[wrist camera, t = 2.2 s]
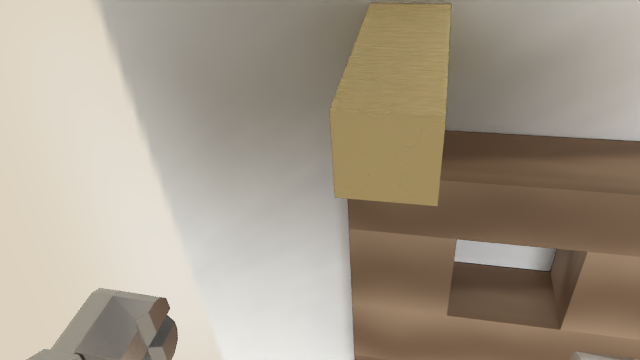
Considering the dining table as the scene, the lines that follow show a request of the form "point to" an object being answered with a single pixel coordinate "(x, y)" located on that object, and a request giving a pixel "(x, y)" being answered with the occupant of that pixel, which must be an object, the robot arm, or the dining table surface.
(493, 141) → the wooden slotted board
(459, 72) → the dining table surface
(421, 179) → the square bit
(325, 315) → the dining table surface
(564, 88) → the dining table surface
